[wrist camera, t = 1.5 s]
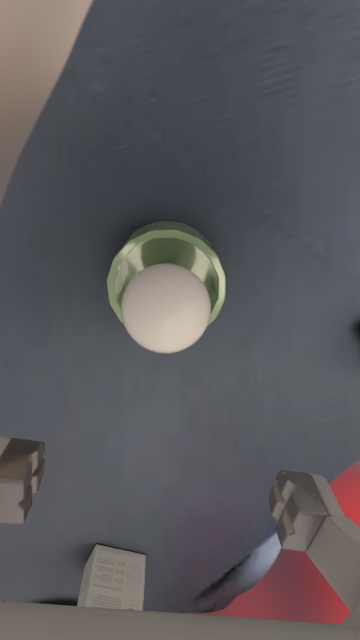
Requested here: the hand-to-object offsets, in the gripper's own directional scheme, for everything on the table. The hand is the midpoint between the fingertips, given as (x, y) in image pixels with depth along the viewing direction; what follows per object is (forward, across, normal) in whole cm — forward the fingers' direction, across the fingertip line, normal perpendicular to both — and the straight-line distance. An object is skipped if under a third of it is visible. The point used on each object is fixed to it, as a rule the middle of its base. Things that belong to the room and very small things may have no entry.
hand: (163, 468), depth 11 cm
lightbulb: (+21, 0, 0) cm, 21 cm away
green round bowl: (+22, 0, 0) cm, 22 cm away
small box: (+22, 0, +45) cm, 50 cm away
